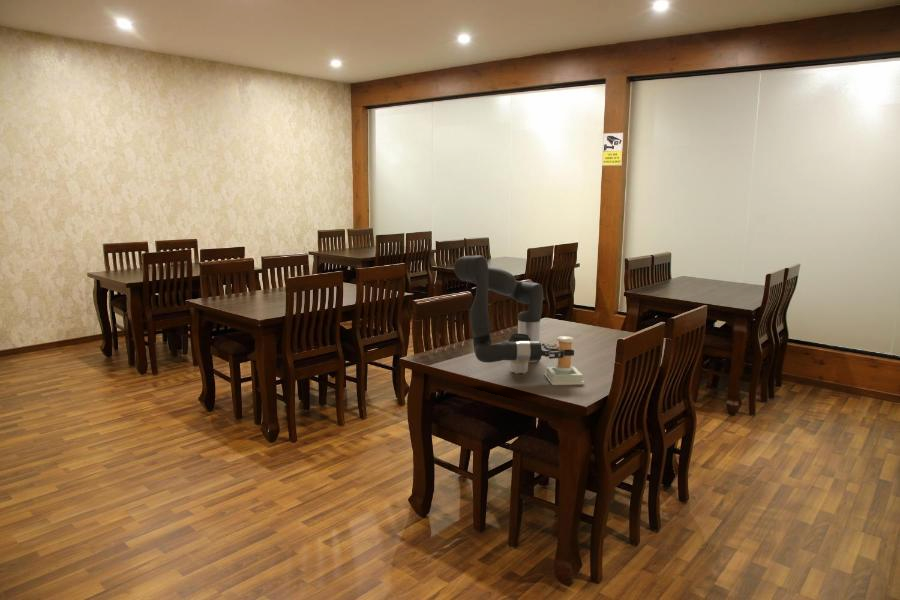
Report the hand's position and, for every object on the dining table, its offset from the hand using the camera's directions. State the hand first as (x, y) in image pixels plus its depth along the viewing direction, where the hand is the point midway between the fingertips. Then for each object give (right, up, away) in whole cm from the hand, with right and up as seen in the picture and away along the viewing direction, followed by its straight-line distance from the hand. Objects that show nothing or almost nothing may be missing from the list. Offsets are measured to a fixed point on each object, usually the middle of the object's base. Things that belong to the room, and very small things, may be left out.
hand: (571, 350), depth 226 cm
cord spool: (-3, -7, +1) cm, 7 cm away
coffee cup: (-19, -9, +13) cm, 24 cm away
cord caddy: (-3, -11, +2) cm, 12 cm away
